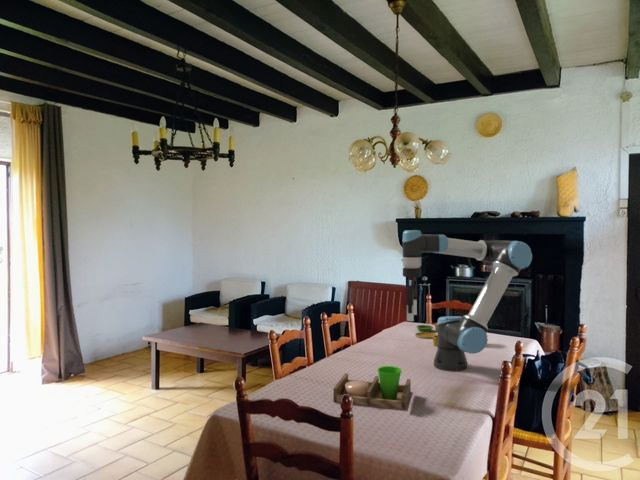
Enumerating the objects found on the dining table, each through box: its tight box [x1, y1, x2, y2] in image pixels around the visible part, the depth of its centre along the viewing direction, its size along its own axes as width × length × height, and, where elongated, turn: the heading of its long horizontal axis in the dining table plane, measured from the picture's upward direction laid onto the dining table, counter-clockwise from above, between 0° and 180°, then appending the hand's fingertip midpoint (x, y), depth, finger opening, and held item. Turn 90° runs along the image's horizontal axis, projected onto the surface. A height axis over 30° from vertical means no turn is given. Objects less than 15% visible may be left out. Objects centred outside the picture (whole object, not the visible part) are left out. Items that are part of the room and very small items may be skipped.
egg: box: [345, 380, 369, 397], centre depth 178 cm, size 9×9×4 cm
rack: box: [332, 373, 411, 411], centre depth 177 cm, size 26×18×6 cm
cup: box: [376, 365, 402, 400], centre depth 174 cm, size 9×9×11 cm
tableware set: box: [414, 322, 438, 348], centre depth 270 cm, size 41×28×6 cm
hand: (411, 317), depth 196 cm, fingers open, 13 cm apart
